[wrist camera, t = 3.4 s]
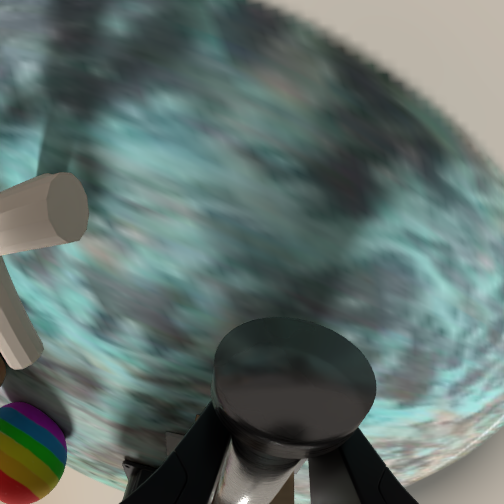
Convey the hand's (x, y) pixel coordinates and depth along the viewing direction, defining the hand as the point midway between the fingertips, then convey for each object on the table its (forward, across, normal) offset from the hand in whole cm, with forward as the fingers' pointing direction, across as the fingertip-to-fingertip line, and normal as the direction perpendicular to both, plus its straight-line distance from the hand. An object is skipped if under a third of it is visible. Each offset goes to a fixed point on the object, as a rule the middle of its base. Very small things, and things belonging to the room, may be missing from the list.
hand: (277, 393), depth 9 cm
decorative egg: (+5, +18, +18) cm, 26 cm away
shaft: (+1, 0, +6) cm, 6 cm away
